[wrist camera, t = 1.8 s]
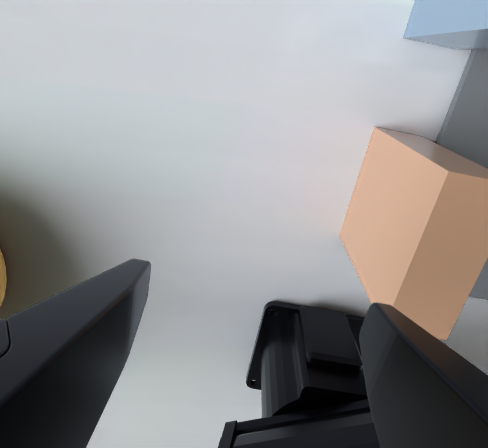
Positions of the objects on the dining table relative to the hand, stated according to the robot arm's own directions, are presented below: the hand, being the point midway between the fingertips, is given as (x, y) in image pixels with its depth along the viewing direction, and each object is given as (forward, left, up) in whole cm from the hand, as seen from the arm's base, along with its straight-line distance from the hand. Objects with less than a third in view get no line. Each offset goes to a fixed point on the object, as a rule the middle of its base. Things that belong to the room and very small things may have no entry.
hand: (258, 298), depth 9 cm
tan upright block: (0, -7, -12) cm, 14 cm away
